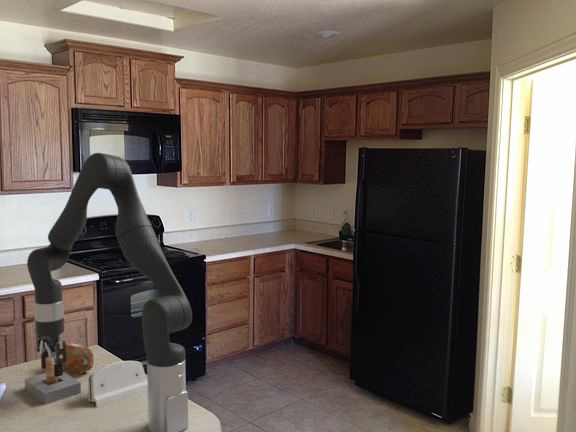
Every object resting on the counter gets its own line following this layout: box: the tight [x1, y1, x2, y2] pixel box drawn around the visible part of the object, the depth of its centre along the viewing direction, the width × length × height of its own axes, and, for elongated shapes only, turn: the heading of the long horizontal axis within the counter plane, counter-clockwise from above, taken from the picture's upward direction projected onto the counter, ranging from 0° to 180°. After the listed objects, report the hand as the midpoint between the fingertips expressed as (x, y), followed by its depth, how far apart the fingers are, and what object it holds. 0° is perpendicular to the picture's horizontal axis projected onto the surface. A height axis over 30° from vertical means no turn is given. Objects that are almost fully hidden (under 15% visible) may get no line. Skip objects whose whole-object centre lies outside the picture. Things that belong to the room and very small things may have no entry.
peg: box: [45, 356, 58, 385], centre depth 152 cm, size 3×3×10 cm
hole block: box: [24, 371, 82, 405], centre depth 152 cm, size 14×10×3 cm
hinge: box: [87, 360, 148, 408], centre depth 151 cm, size 17×5×10 cm, turn 134°
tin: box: [54, 342, 94, 375], centre depth 167 cm, size 15×3×8 cm, turn 64°
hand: (51, 371), depth 152 cm, fingers open, 8 cm apart
